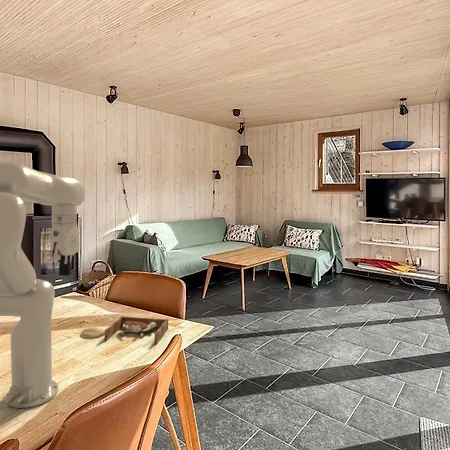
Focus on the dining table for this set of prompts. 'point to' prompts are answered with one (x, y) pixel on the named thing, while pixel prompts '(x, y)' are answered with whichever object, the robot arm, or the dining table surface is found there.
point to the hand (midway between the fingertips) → (65, 274)
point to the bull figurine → (137, 327)
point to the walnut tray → (160, 323)
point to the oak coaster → (93, 332)
